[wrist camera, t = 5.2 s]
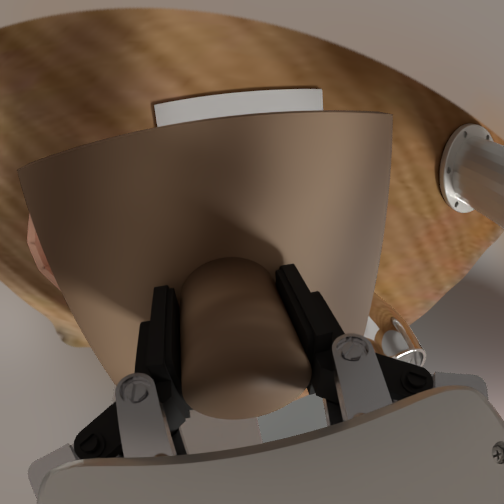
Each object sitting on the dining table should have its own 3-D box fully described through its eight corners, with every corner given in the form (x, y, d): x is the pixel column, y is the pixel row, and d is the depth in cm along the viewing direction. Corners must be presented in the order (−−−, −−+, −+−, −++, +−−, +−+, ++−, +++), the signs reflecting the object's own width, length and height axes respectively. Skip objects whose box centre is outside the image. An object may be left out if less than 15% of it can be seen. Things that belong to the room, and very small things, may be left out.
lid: (378, 111, 10) (483, 139, 6) (350, 351, 17) (388, 419, 13) (29, 163, 9) (-60, 222, 4) (130, 391, 16) (127, 471, 11)
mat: (320, 89, 24) (322, 89, 24) (322, 231, 32) (323, 232, 31) (154, 104, 22) (154, 104, 22) (182, 253, 30) (181, 255, 30)
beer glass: (301, 282, 35) (354, 383, 22) (350, 247, 33) (423, 335, 21) (326, 312, 38) (375, 404, 25) (369, 282, 37) (431, 365, 24)
